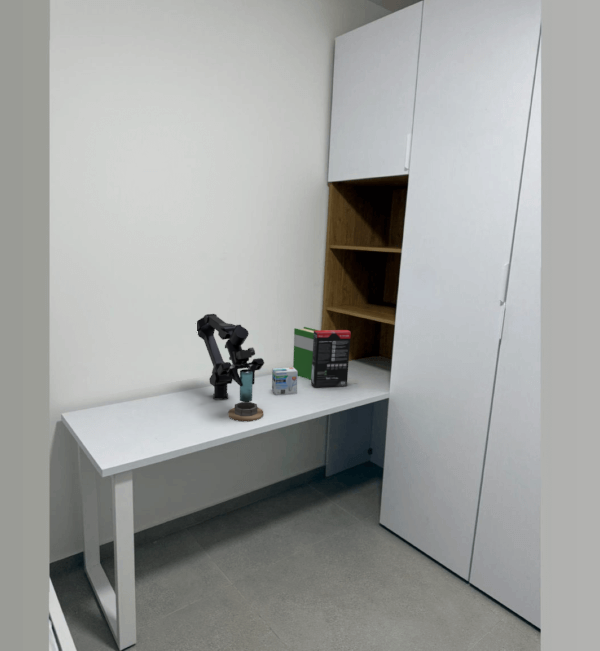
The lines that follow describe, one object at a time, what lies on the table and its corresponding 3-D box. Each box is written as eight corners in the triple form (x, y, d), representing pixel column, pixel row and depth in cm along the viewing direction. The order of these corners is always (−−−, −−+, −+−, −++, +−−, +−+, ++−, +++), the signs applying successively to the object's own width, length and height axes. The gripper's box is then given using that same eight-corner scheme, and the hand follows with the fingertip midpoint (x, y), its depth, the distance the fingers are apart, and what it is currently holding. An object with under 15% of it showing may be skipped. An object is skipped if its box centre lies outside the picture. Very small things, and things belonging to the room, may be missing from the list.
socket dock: (228, 409, 208) (228, 400, 207) (261, 408, 210) (261, 399, 209) (228, 422, 194) (228, 412, 194) (264, 420, 197) (264, 411, 196)
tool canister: (237, 400, 200) (237, 371, 197) (243, 396, 204) (243, 368, 202) (248, 402, 198) (249, 373, 195) (254, 398, 202) (254, 370, 200)
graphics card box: (343, 382, 248) (346, 328, 243) (348, 386, 242) (351, 331, 236) (310, 384, 244) (312, 329, 238) (314, 388, 237) (316, 332, 232)
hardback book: (293, 373, 260) (294, 328, 255) (303, 371, 265) (305, 326, 260) (316, 382, 247) (318, 334, 243) (327, 379, 252) (329, 332, 248)
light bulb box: (275, 395, 227) (275, 372, 224) (271, 390, 233) (271, 368, 231) (297, 393, 230) (298, 370, 228) (293, 388, 236) (293, 366, 234)
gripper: (220, 343, 195) (232, 378, 188) (262, 338, 205) (275, 372, 198) (212, 358, 203) (223, 392, 196) (253, 353, 213) (265, 385, 206)
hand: (247, 385), depth 199 cm, fingers closed on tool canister, 5 cm apart
